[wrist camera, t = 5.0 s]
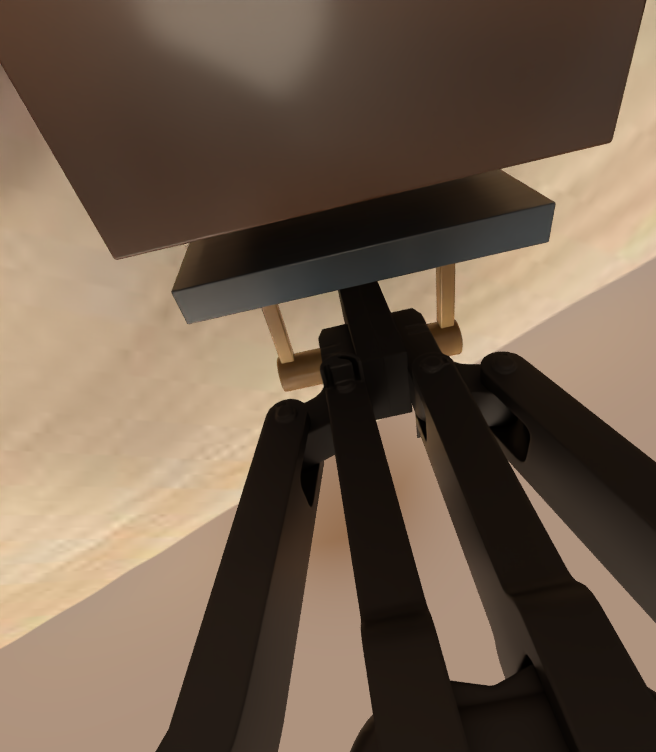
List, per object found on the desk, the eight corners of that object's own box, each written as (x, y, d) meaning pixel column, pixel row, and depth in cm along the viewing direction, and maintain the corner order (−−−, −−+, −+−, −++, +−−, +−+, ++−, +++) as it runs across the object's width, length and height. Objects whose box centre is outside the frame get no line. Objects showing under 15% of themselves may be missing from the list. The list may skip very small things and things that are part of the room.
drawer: (456, 289, 22) (523, 384, 16) (253, 335, 23) (248, 443, 17) (471, -451, 9) (823, -1287, 3) (4, -309, 10) (-401, -825, 4)
